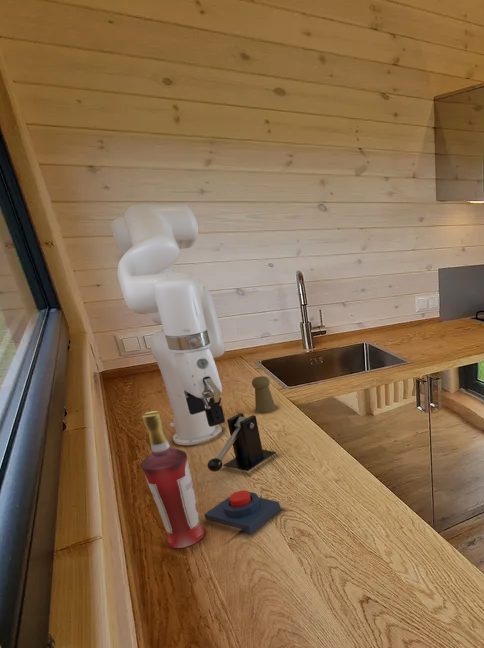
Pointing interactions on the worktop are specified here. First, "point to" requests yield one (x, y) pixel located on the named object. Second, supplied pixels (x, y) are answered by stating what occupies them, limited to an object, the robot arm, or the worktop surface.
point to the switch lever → (225, 448)
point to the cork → (263, 395)
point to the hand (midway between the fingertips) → (207, 418)
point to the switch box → (244, 513)
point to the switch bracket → (247, 444)
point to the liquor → (171, 486)
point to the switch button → (240, 498)
